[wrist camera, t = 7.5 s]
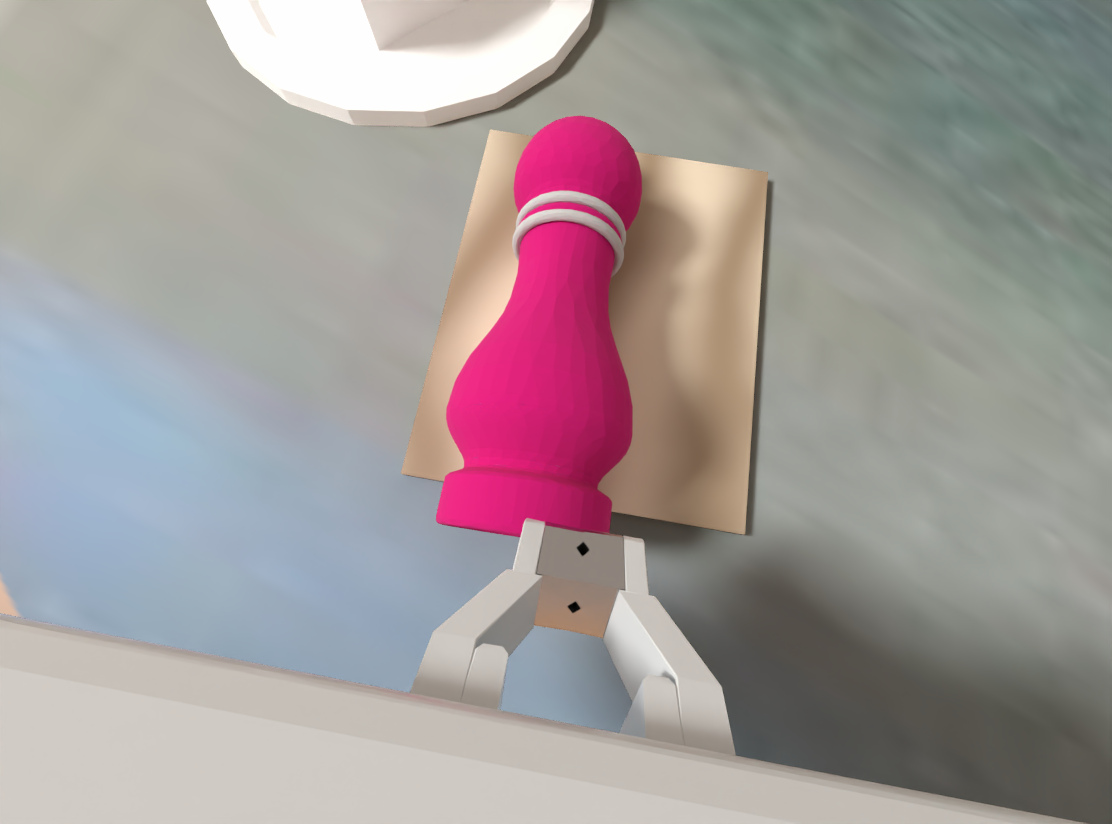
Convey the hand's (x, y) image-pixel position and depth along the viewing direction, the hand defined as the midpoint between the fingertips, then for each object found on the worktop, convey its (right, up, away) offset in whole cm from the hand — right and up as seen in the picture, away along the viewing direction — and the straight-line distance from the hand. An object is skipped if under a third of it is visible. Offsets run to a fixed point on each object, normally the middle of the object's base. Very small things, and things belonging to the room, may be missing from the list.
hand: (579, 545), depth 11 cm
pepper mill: (-2, -1, +5) cm, 5 cm away
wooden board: (+2, +9, +12) cm, 15 cm away
